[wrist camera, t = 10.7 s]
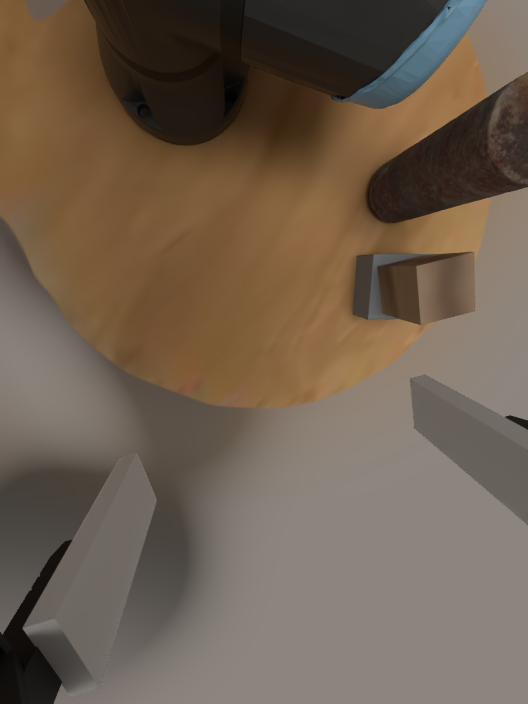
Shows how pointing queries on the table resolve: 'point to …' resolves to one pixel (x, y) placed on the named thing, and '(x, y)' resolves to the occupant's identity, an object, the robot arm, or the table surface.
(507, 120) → the candle
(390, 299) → the walnut block
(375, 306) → the base block
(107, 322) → the table surface
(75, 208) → the table surface
